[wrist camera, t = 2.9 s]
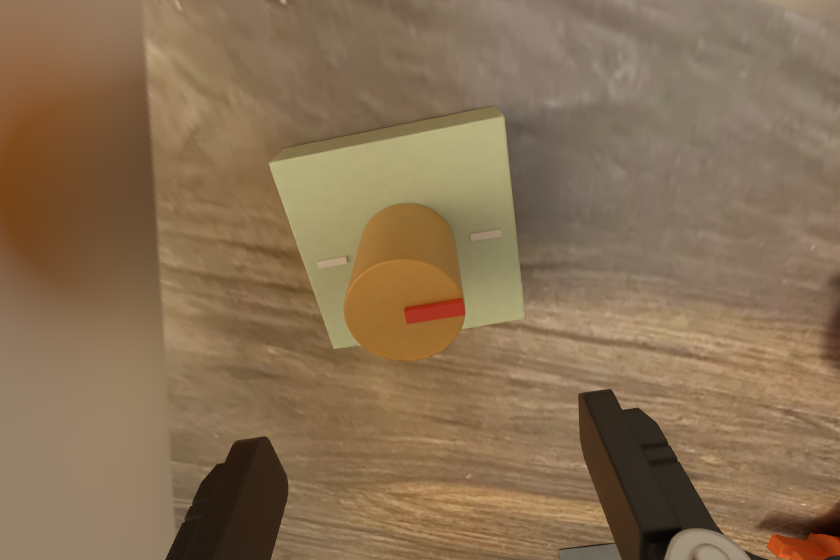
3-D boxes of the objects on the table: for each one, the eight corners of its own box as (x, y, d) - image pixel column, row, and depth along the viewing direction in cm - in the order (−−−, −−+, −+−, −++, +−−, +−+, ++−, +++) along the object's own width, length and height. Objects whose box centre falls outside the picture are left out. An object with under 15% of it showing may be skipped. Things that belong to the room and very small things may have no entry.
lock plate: (340, 323, 27) (333, 351, 25) (282, 148, 22) (266, 164, 20) (516, 293, 26) (526, 321, 24) (495, 105, 21) (505, 116, 19)
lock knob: (372, 296, 23) (359, 374, 18) (349, 212, 21) (326, 275, 16) (462, 281, 23) (474, 357, 18) (447, 194, 21) (455, 252, 16)
